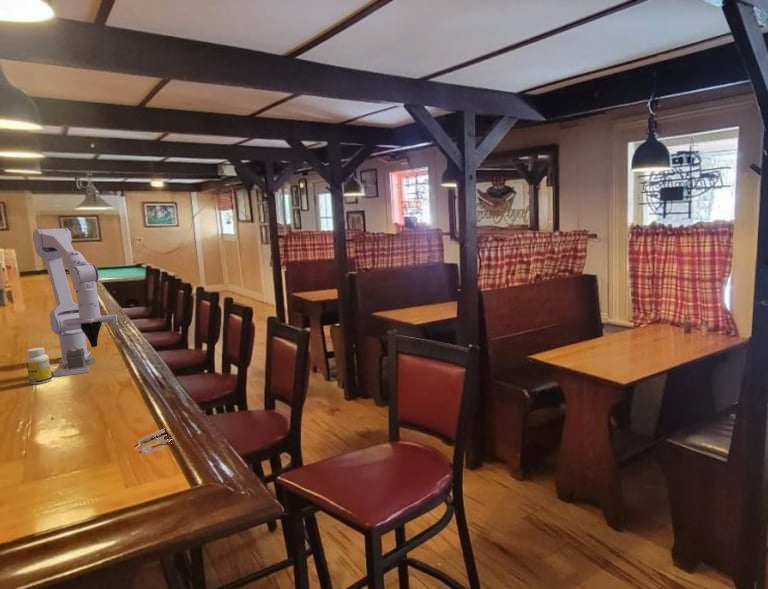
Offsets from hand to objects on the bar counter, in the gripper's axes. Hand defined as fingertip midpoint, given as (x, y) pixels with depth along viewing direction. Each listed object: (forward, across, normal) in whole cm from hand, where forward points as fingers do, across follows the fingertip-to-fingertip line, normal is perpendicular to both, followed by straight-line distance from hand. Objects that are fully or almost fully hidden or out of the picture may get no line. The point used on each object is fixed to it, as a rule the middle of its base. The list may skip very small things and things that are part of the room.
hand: (94, 346), depth 161 cm
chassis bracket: (+6, -6, 0) cm, 9 cm away
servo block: (+6, -5, 0) cm, 8 cm away
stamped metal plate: (+7, +21, -73) cm, 76 cm away
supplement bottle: (+7, -13, -10) cm, 18 cm away
